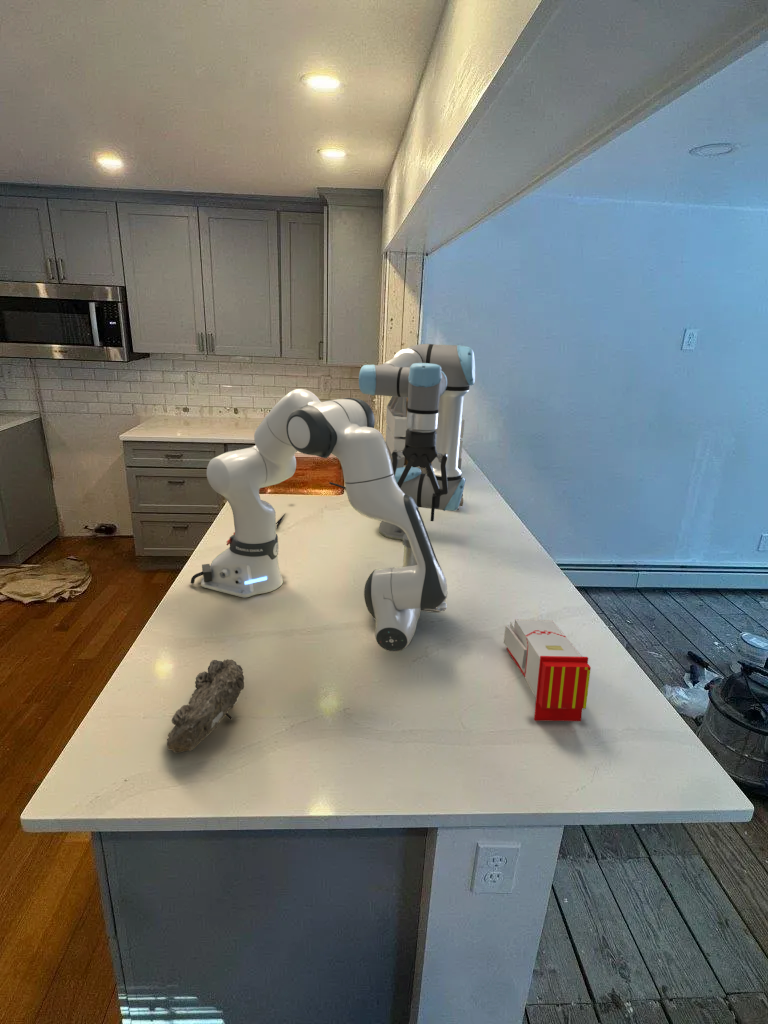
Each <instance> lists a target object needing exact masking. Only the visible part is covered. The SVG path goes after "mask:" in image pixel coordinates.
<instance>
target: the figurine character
mask: <svg viewBox="0 0 768 1024" xmlns="http://www.w3.org/2000/svg"><path fill="white" fill-rule="evenodd" d="M463 496H464V493H463V494H462V498H461V501H460V505H459V507H458V509H457V510H456V511H459V510H460V507H463V505H464V498H463Z"/></svg>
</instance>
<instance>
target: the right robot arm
mask: <svg viewBox="0 0 768 1024" xmlns="http://www.w3.org/2000/svg"><path fill="white" fill-rule="evenodd" d="M475 358H476V357H475V353H474V350H473V348H472V347H470V346H466V345H465V346H464V345H459V344H436V343H435V344H434V343H433V344H432V343H419V344H415V345H411V346H408V347H405V348H403V349H400V350H398V351H397V352H396V353H395V354H394V355H393V357H392V358H391V359H389V360H387V361H385V362H383V363H382V364H379V365H377V364H373V363H372V364H364V365H362V366H361V368H360V370H359V373H358V388H359V391H360V393H362V394H363V395H368V396H369V395H370V396H373V397H374V396H381V397H382V396H383V397H392V396H395V397H406V398H408V408H407V420H406V427H407V428H408V429H407V430H406V437H405V448H404V449H403V450H400V451H397V450H394V451H393V452H392V460H393V462H392V467H393V471H394V476H395V480H396V482H397V484H398V486H399V488H400V489H401V490H402V491H403V493H404V494H406V495H409V496H411V497H412V498H413V500H414V501H415V503H416V505H417V507H418V509H419V508H422V509H430V519H429V521H430V522H434V520H435V511H436V510H440V511H443V512H445V511H447V512H455V511H458V510H457V509H458V508H460V506H459V505H460V501H461V498H463V497H462V494H463V495H464V489H465V484H466V478H465V477H462V470H461V471H460V470H459V468H458V456H459V445H460V439H461V438H460V434H461V422H462V419H463V410H464V399H465V395H466V394H467V393H468V392H470V387H471V386H474V385H475V382H476V360H475ZM402 455H404V457H405V458H406V460H407V461H408V463H407V465H405V466H404V467H401V468H397V465H398V460H399V459H400V458H401V456H402ZM431 463H432V464H431ZM422 469H425V470H426V473H422ZM328 484H329V485H331V486H335V487H338V488H341V489H343V490H346V488H345V485H342V484H338V483H335V482H331V481H329V483H328ZM378 533H379V534H380V535H381V536H382V537H385V538H387V539H389V540H395V541H403V535H404V534H406V533H405V532H404V531H403V530H402V529H401V528H400V527H398V526H396V525H394V524H391V523H388V522H384V521H380V522H379V527H378Z"/></svg>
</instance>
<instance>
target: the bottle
mask: <svg viewBox="0 0 768 1024" xmlns="http://www.w3.org/2000/svg"><path fill="white" fill-rule="evenodd" d="M415 565H417V561H416V559H415V556H414V553H413V550H412V548H408V547H406V546H404V545H403V562H402V567H407V566H415Z"/></svg>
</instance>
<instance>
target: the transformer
mask: <svg viewBox="0 0 768 1024" xmlns="http://www.w3.org/2000/svg"><path fill="white" fill-rule="evenodd" d="M407 408H408V398H406V397H395V396H391V398H390V400H389V402H388V404H387V405H386V413H385V414H386V415H385V423H386V428H385V438H384V440H385V443H386V446H387V449H388V452H389V455H390V458H391V462H393V460H392V452H393V451H394V450H397V451H400V450H403V449H404V448H405V437H406V430H407V429H408V428H407V427H406V420H407ZM464 429H465V419H464V418H462V422H461V434H460V445H459V456H458V468H459V470H460V471H461V472H462V461H463V460H462V453H463V442H464V441H463V440H462V439H463V438H464V431H465V430H464ZM407 463H408V461H407V460H406V458H405V457H404V455H402V456H401V458H400V459H399V460H398V465H397V468H401V467H405V466H406V465H407ZM431 464H432V463H431Z"/></svg>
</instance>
